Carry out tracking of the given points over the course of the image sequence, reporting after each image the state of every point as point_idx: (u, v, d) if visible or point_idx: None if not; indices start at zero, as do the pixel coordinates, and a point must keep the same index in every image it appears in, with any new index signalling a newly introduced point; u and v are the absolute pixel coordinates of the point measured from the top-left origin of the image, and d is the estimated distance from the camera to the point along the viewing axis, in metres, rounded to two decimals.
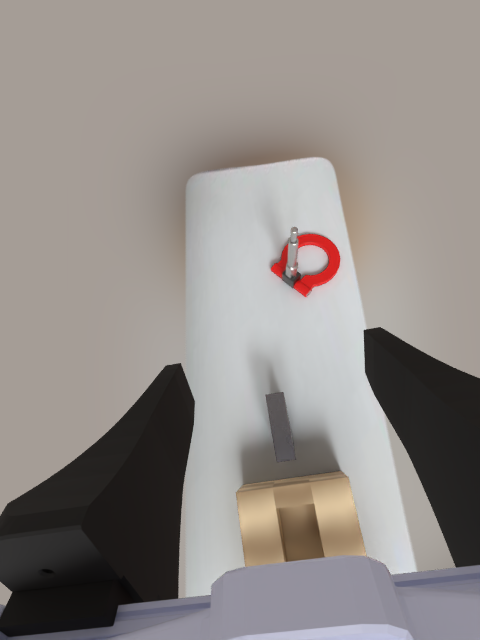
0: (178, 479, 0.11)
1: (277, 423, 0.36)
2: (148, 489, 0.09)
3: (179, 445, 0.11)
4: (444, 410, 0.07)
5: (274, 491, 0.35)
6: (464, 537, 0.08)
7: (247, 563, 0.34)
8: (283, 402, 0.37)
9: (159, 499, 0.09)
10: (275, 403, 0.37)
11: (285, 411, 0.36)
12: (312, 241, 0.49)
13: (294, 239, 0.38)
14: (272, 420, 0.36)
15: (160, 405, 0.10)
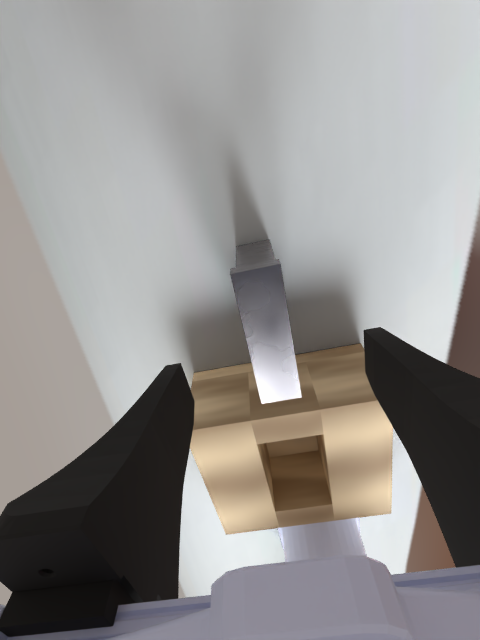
0: (178, 479, 0.11)
1: (263, 337, 0.15)
2: (148, 489, 0.09)
3: (179, 445, 0.11)
4: (445, 410, 0.07)
5: (254, 425, 0.19)
6: (465, 537, 0.08)
7: (214, 497, 0.22)
8: (279, 290, 0.14)
9: (159, 499, 0.09)
10: (257, 293, 0.14)
11: (284, 311, 0.14)
12: None
13: None
14: (250, 332, 0.14)
15: (160, 405, 0.10)
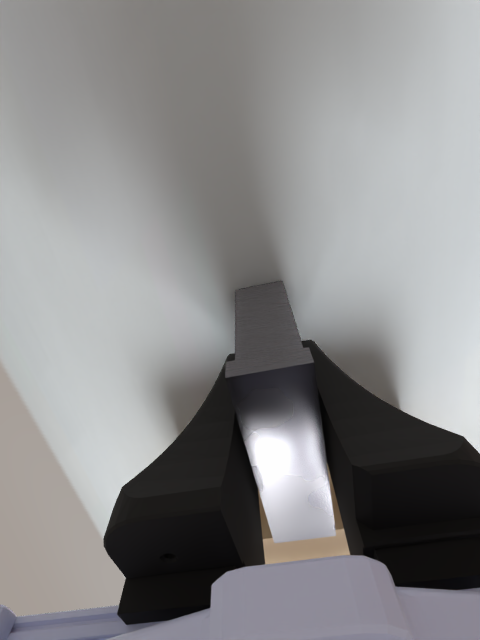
0: None
1: (279, 464, 0.09)
2: (243, 475, 0.08)
3: None
4: (332, 428, 0.08)
5: None
6: (354, 550, 0.08)
7: None
8: (310, 401, 0.08)
9: (248, 486, 0.09)
10: (272, 405, 0.08)
11: (316, 430, 0.08)
12: None
13: None
14: (259, 458, 0.09)
15: None
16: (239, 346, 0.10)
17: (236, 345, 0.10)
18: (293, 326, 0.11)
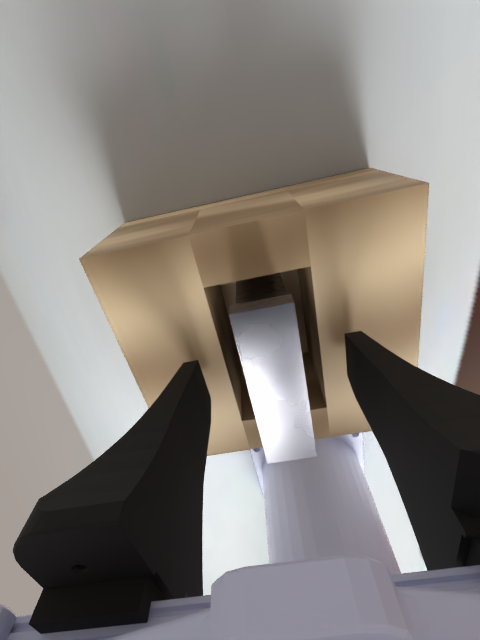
0: (199, 477, 0.11)
1: (270, 389, 0.12)
2: (174, 485, 0.09)
3: (199, 442, 0.11)
4: (412, 415, 0.08)
5: (195, 245, 0.12)
6: (433, 541, 0.08)
7: (148, 395, 0.15)
8: (292, 334, 0.10)
9: (183, 496, 0.09)
10: (263, 338, 0.10)
11: (297, 359, 0.11)
12: None
13: None
14: (254, 383, 0.11)
15: (181, 401, 0.10)
16: (239, 303, 0.13)
17: (236, 302, 0.13)
18: (282, 288, 0.13)
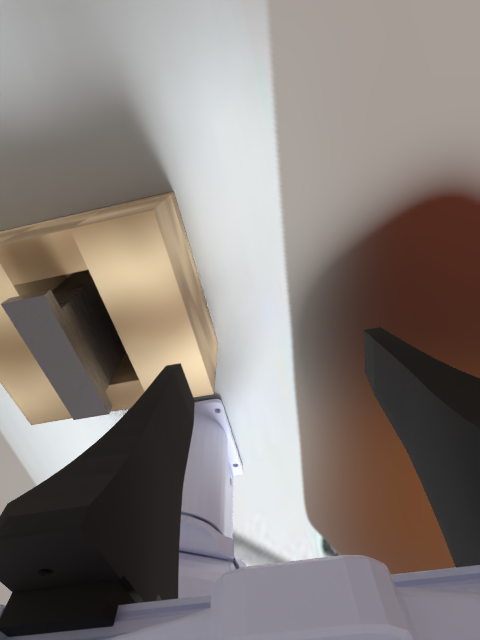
0: (178, 479, 0.11)
1: (52, 360, 0.16)
2: (148, 489, 0.09)
3: (179, 445, 0.11)
4: (445, 410, 0.07)
5: None
6: (465, 537, 0.08)
7: None
8: (52, 318, 0.15)
9: (159, 499, 0.09)
10: (32, 321, 0.15)
11: (63, 336, 0.15)
12: None
13: None
14: (39, 355, 0.16)
15: (160, 405, 0.10)
16: None
17: None
18: (83, 286, 0.17)
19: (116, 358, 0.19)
